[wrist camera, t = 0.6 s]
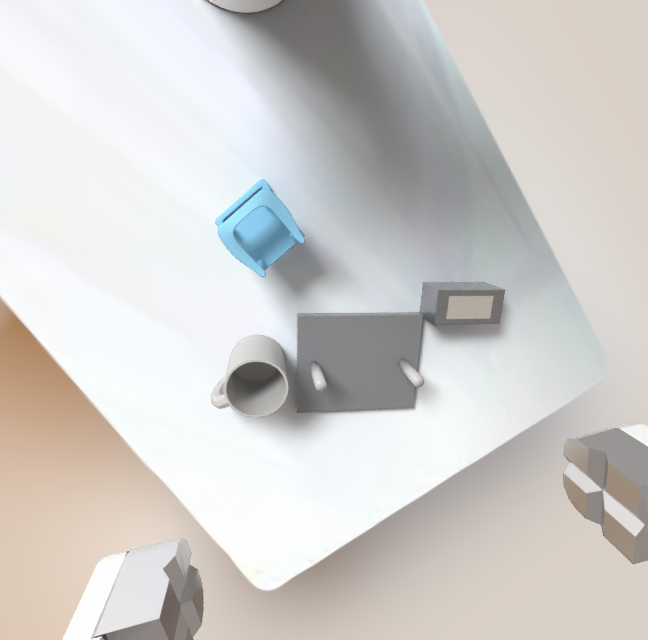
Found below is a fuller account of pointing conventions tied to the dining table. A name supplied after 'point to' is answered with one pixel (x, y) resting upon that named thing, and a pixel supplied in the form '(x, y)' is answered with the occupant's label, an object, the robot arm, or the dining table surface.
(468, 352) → the dining table surface
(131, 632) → the robot arm
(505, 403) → the dining table surface
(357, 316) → the grey peg base
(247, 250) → the chair
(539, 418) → the dining table surface
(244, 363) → the cup
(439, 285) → the block
